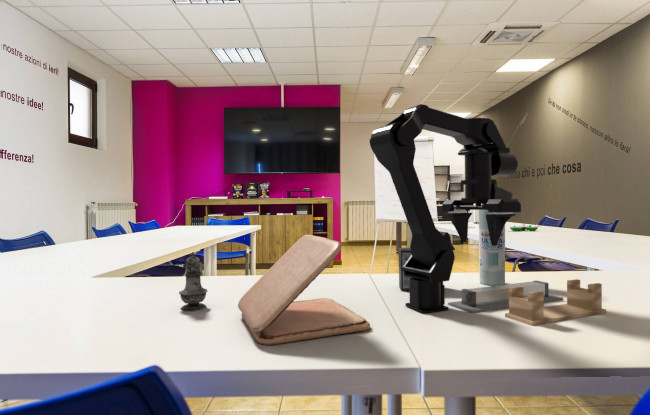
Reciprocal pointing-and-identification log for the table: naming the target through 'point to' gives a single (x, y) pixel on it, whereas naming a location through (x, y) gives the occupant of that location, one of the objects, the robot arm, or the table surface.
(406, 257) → the small box
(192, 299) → the salt shaker
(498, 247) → the spray paint can
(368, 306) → the table surface
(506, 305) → the mat
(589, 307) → the cradle stand
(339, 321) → the case
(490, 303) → the rail
